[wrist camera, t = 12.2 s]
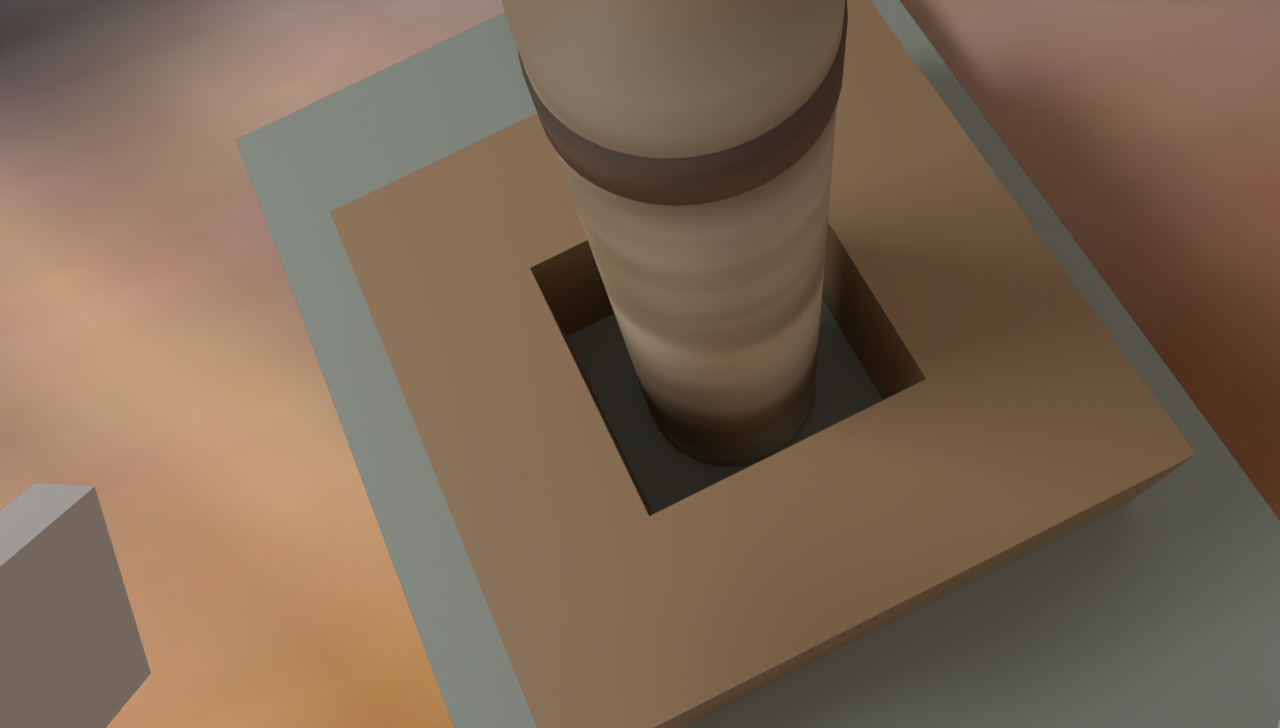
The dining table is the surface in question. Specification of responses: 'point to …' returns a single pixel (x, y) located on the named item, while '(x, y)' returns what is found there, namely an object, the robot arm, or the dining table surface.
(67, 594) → the robot arm
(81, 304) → the dining table surface
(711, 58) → the round peg
